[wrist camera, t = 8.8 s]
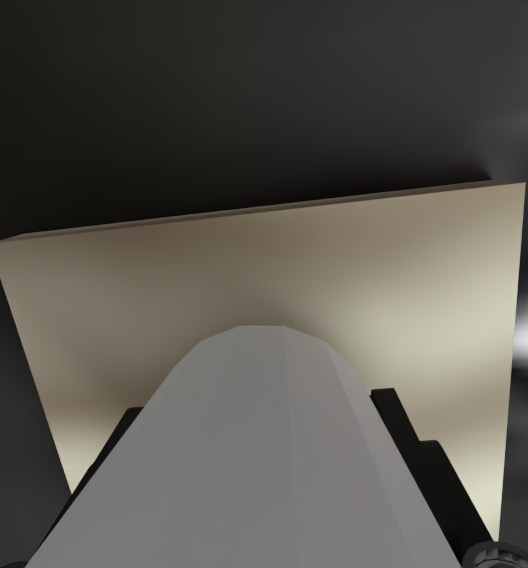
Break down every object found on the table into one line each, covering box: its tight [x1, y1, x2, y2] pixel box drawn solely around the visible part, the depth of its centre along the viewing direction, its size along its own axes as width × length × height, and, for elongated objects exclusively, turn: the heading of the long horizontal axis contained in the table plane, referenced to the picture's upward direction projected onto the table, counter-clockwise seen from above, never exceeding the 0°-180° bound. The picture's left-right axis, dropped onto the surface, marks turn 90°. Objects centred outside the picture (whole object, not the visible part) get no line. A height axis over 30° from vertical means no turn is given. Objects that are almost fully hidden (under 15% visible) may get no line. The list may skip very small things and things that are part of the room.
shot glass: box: [25, 326, 461, 568], centre depth 7 cm, size 7×7×7 cm
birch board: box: [0, 180, 526, 541], centre depth 13 cm, size 12×14×2 cm
